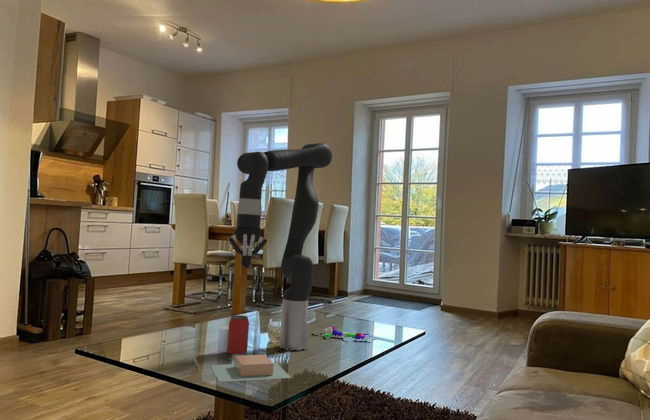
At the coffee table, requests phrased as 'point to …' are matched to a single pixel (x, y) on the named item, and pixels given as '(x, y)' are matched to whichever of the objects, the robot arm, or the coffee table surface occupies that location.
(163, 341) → the coffee table surface
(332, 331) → the building block set
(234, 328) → the beer can
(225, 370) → the felt mat
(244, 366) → the tile
